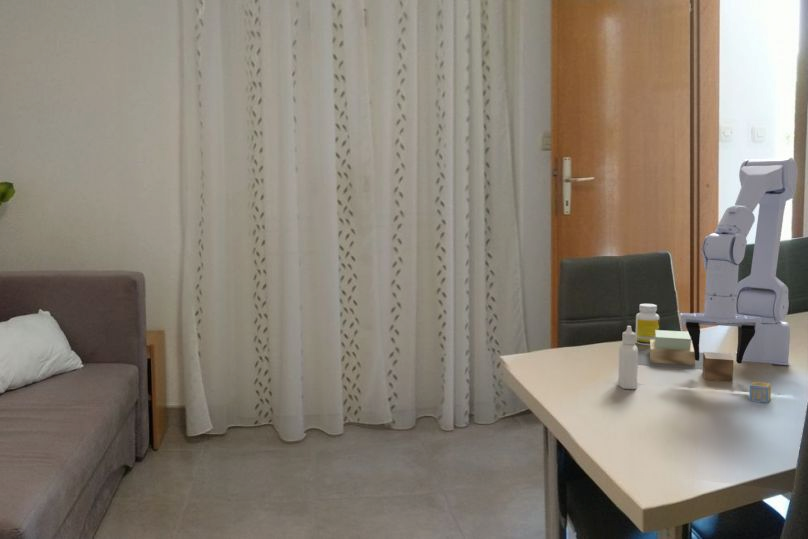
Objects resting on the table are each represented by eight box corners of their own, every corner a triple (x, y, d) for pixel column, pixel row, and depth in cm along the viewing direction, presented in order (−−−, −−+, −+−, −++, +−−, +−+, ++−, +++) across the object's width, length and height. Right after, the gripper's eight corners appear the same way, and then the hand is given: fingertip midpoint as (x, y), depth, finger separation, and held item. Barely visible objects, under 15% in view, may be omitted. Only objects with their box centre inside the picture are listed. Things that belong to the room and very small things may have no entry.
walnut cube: (729, 377, 135) (730, 353, 134) (732, 384, 130) (733, 360, 129) (702, 375, 136) (703, 351, 136) (704, 382, 132) (705, 358, 131)
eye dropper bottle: (643, 384, 131) (645, 324, 129) (633, 391, 127) (635, 330, 125) (622, 380, 134) (623, 322, 132) (611, 387, 130) (612, 327, 128)
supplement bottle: (661, 346, 159) (663, 306, 158) (639, 347, 159) (640, 307, 158) (653, 341, 164) (655, 302, 163) (632, 341, 164) (633, 303, 163)
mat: (707, 355, 151) (707, 353, 151) (714, 372, 138) (714, 370, 138) (633, 350, 156) (633, 348, 156) (633, 366, 143) (633, 364, 143)
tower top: (688, 342, 149) (688, 331, 148) (690, 350, 142) (690, 339, 142) (654, 340, 151) (655, 330, 151) (655, 348, 144) (656, 337, 144)
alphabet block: (748, 400, 121) (749, 384, 120) (752, 396, 123) (752, 380, 123) (767, 404, 119) (768, 387, 118) (770, 399, 121) (771, 383, 121)
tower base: (691, 354, 150) (692, 341, 149) (695, 365, 141) (695, 351, 141) (649, 352, 153) (650, 339, 152) (650, 362, 144) (650, 349, 144)
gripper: (682, 295, 129) (679, 363, 131) (765, 299, 125) (761, 368, 126) (680, 290, 136) (677, 354, 138) (759, 293, 131) (755, 359, 133)
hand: (717, 360), depth 133 cm, fingers open, 7 cm apart
